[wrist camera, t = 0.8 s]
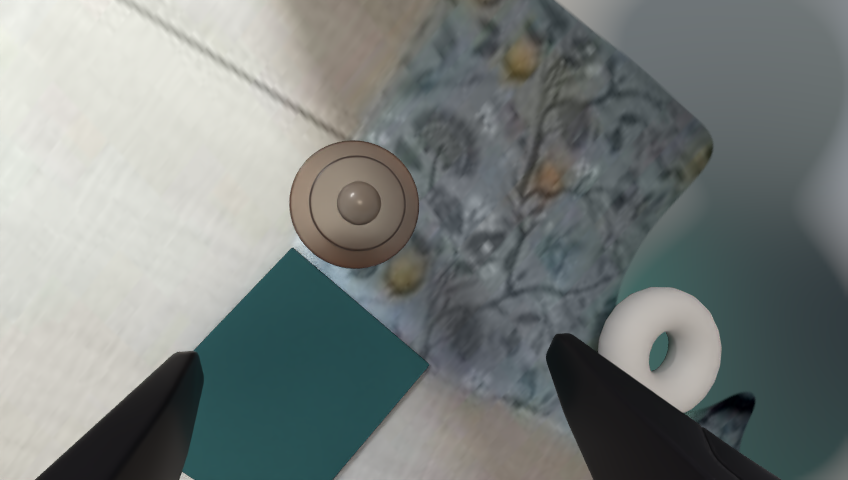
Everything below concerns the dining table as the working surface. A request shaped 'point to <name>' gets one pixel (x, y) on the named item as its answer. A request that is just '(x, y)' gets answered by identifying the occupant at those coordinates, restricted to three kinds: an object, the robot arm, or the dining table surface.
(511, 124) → the dining table surface
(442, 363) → the dining table surface
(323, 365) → the napkin
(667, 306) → the donut
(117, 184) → the dining table surface
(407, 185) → the pepper mill
